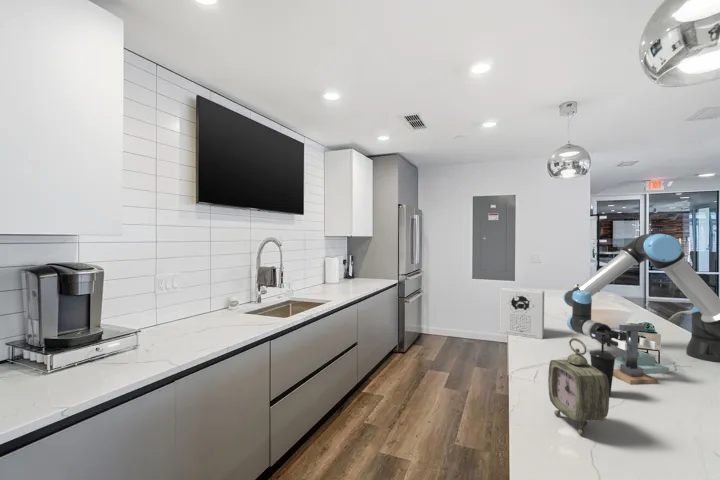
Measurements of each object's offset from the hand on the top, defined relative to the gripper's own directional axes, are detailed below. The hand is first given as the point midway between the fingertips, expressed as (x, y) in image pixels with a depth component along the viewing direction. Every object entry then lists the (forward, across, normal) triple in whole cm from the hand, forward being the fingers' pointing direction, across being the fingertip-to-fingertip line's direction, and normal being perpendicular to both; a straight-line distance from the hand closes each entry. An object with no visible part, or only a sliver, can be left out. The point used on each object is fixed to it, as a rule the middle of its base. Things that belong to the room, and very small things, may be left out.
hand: (640, 346), depth 135 cm
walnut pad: (-4, 0, -14) cm, 14 cm away
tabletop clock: (+27, +45, -14) cm, 54 cm away
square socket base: (-15, -13, -14) cm, 24 cm away
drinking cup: (+8, +22, -14) cm, 27 cm away
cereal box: (-66, +10, -14) cm, 68 cm away
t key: (-4, 0, -12) cm, 13 cm away
